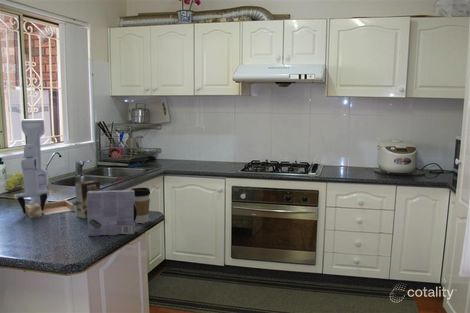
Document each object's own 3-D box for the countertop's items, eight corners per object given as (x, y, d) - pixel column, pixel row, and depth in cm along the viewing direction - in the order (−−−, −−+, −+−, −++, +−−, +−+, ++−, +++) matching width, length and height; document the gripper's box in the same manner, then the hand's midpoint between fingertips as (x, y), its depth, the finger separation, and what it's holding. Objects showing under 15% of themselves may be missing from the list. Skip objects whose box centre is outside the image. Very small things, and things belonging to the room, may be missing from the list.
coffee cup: (128, 221, 181) (126, 188, 179) (144, 217, 187) (143, 185, 185) (138, 225, 175) (137, 191, 173) (155, 221, 181) (154, 188, 179)
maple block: (29, 217, 188) (29, 208, 187) (25, 213, 195) (25, 204, 194) (41, 216, 191) (41, 206, 190) (37, 211, 198) (36, 202, 197)
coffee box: (83, 219, 185) (81, 184, 183) (76, 216, 189) (74, 182, 187) (101, 214, 192) (100, 181, 190) (94, 212, 196) (92, 179, 194)
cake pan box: (138, 230, 169) (136, 188, 167) (137, 234, 164) (135, 191, 162) (89, 233, 166) (87, 190, 164) (87, 237, 161) (84, 193, 159)
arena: (39, 210, 201) (38, 204, 200) (66, 205, 209) (66, 200, 208) (45, 215, 191) (45, 209, 191) (74, 210, 199) (73, 204, 199)
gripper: (15, 186, 183) (17, 216, 185) (50, 182, 192) (52, 210, 194) (12, 184, 189) (14, 212, 191) (46, 180, 197) (48, 207, 199)
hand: (33, 211), depth 193 cm, fingers open, 7 cm apart
